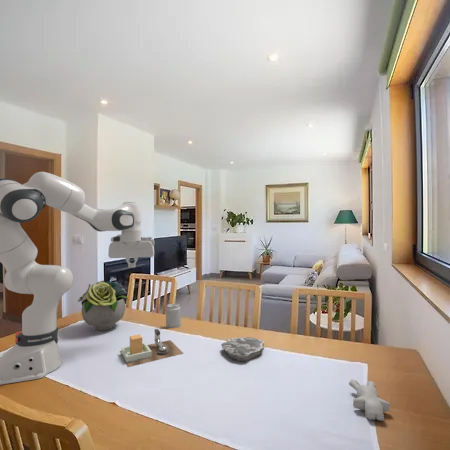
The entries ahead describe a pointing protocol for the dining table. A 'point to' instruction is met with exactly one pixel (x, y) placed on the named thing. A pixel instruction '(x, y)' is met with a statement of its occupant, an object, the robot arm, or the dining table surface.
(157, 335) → the crank
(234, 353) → the brain slice
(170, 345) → the mechanism board
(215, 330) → the dining table surface
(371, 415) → the bunny figurine
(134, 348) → the block
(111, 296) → the flower arrangement
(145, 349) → the tray
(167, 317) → the can
